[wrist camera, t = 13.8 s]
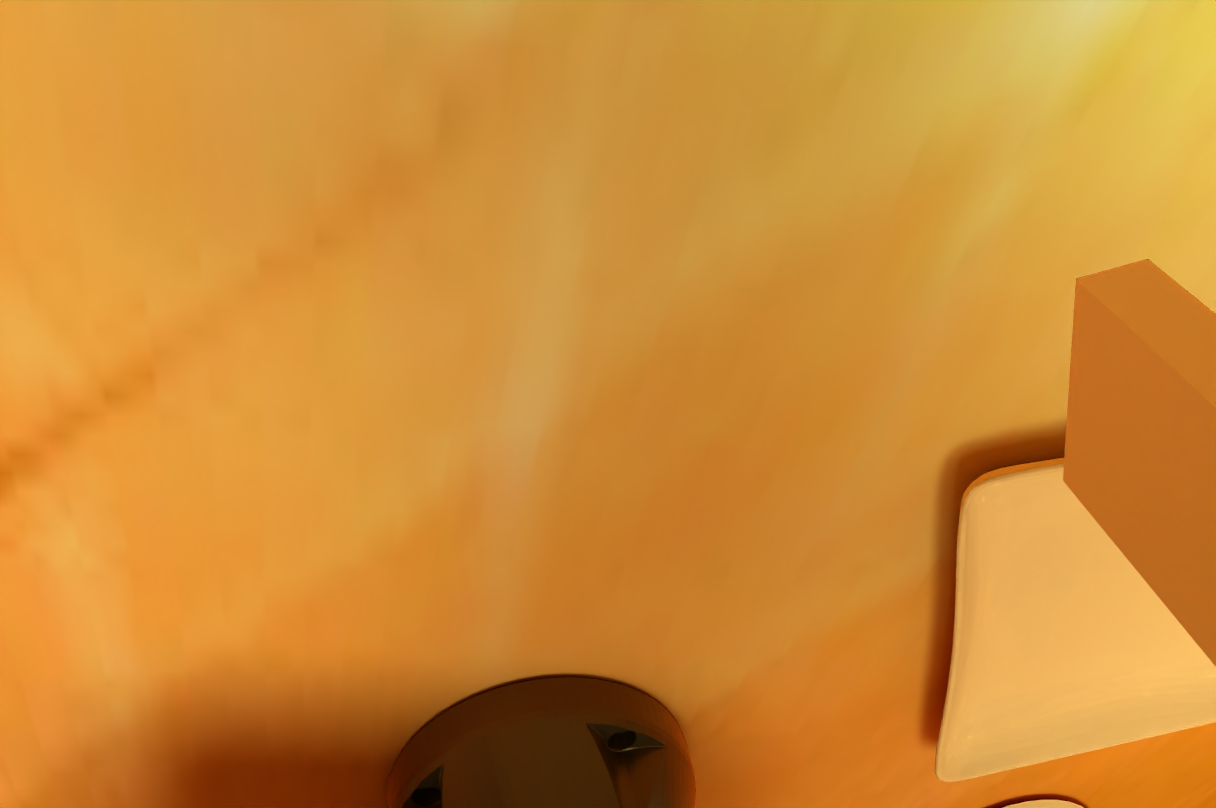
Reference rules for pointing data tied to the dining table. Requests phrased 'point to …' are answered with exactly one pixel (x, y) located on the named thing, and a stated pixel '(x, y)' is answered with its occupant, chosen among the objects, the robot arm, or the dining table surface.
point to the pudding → (1045, 804)
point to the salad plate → (1056, 635)
